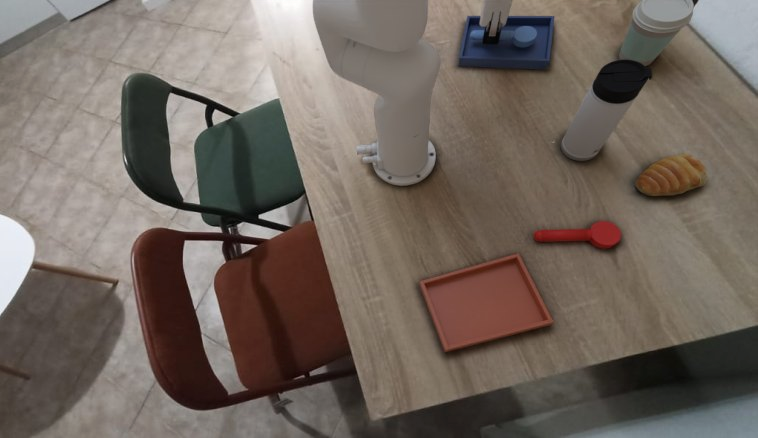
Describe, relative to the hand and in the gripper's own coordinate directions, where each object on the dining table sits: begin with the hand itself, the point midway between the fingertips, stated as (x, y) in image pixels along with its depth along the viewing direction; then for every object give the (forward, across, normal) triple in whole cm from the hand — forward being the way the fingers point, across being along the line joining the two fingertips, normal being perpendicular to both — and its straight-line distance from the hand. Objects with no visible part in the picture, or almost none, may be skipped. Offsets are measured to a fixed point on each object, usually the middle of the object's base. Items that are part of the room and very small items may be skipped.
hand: (491, 37), depth 95 cm
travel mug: (+2, +24, +19) cm, 31 cm away
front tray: (+2, +58, +6) cm, 58 cm away
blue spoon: (0, 0, +2) cm, 2 cm away
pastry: (+2, +30, +32) cm, 44 cm away
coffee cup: (+2, +2, +27) cm, 27 cm away
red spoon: (+2, +43, +19) cm, 47 cm away
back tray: (+2, 0, +3) cm, 4 cm away
